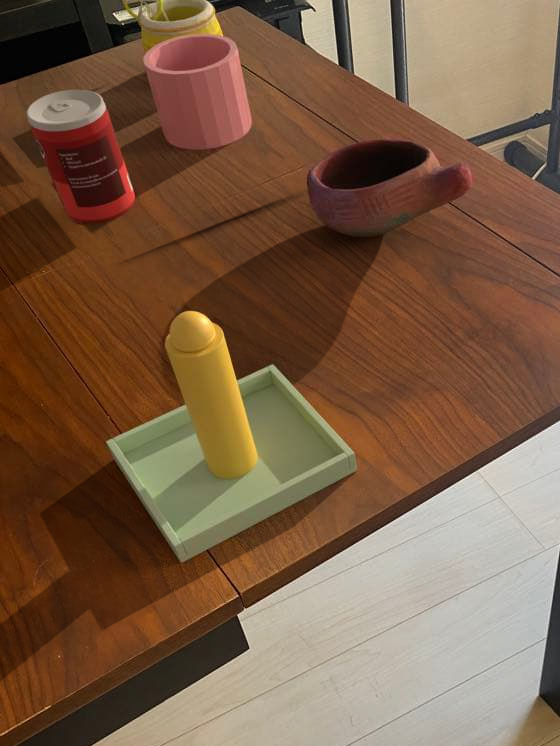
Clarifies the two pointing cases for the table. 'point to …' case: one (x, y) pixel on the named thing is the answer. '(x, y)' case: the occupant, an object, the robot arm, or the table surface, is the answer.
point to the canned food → (82, 155)
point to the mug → (174, 20)
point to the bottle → (211, 394)
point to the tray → (239, 495)
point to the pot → (198, 90)
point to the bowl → (381, 186)
